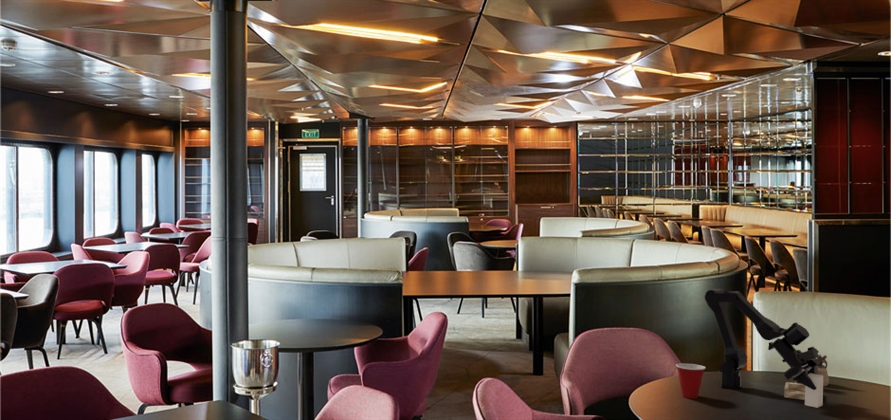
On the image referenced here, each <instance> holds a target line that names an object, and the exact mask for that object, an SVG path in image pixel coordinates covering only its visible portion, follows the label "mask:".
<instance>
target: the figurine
mask: <svg viewBox="0 0 891 420" xmlns="http://www.w3.org/2000/svg"><path fill="white" fill-rule="evenodd" d="M818 355H819V357H817V358H815V359H817V360H818V361H819V362H820V363H819V364H818V365H817V367H816V373H817V374H818V375H823V387H827V385H828V386H829V382H830V380H829V379H830V378H829V373H828V370H827V368H828V361H827V360H826V359H827V358H828V356H827V355H826V354H825V355H823V356H822V355H821V354H819V353H818ZM823 363H824V364H825V365H824V364H823Z"/></svg>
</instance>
